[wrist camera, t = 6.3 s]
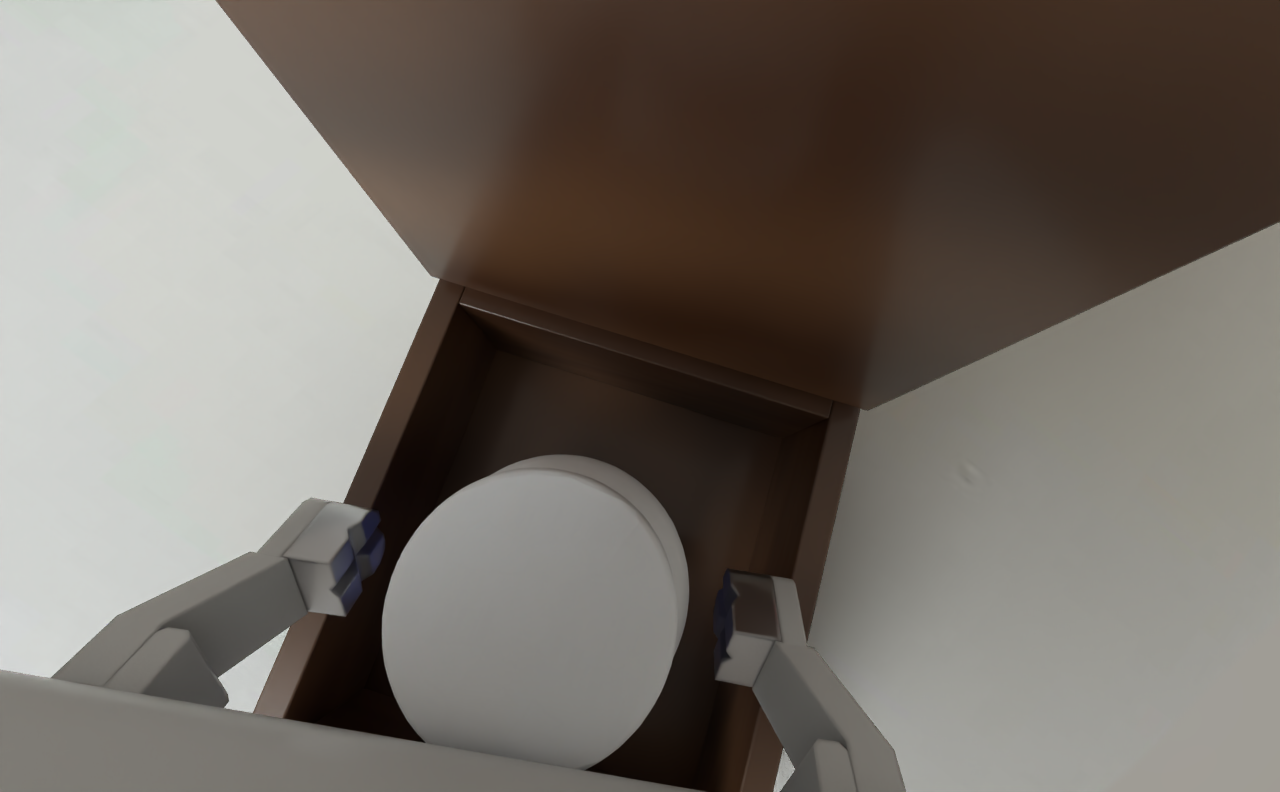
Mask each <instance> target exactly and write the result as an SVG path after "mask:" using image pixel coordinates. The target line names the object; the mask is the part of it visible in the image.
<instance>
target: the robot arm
mask: <svg viewBox="0 0 1280 792" xmlns="http://www.w3.org/2000/svg"><path fill="white" fill-rule="evenodd" d="M380 521H381V518H380V515H379V511H378V510H374V509H369V508H364V507H359V506H354V505H349V504H344V503H338V502H333V501H328V500H322V499H317V498H309V499H308V500H306V501H304V502H303V503H302V504H301V505H300V506H299V507H298V508H297V509H296V510H295V511H294V512H293V513H292V515H291V516H290V517H289V518H288V519H287V520H286V521H285V522H284V523H283V524H282V525H281V527H280V528H279V529H278V530H277V531H276V532H275V533H274V534H273V535H272V536H271V537H270V539H269V540H268V541H267V542H266V543H265V544H264V545H263V546H262V547H261V548H260V549H259V551H258V552H257V553H255V552H248V553H246V554H244V555H242V556H240V557H238V558H236V559H234V560H232V561H230V562H228V563H226V564H223V565H221V566H219V567H217V568H215V569H213V570H211V571H209V572H207V573H205V574H203V575H201V576H198V577H196V578H194V579H192V580H190V581H188V582H186V583H184V584H182V585H180V586H178V587H176V588H174V589H171V590H169V591H167V592H165V593H163V594H161V595H159V596H157V597H155V598H153V599H151V600H149V601H147V602H144V603H142V604H140V605H138V606H136V607H134V608H132V609H130V610H128V611H126V612H124V613H122V614H119V615H117V616H116V617H115V618H114V619H113V620H112V621H111V622H110V623H109V624H108V625H107V626H105V627H104V628H103V629H102V630H101V631H100V632H99V633H98V634H97V635H96V636H95V637H94V638H93V639H92V640H91V641H90V642H88V643H87V644H86V645H85V646H84V647H83V648H82V649H81V650H80V651H79V652H78V653H77V654H76V655H75V656H74V657H72V658H71V659H70V660H69V661H68V662H67V663H66V664H65V665H64V666H63V667H62V668H61V669H60V670H59V671H58V672H56V673H55V674H54V675H53V676H52V677H51V678H46V677H40V676H35V675H29V674H23V673H17V672H11V671H6V670H0V792H705V791H700V790H694V789H688V788H682V787H677V786H671V785H665V784H659V783H654V782H648V781H642V780H636V779H630V778H625V777H619V776H613V775H607V774H602V773H596V772H590V771H584V770H578V769H573V768H567V767H561V766H555V765H550V764H544V763H538V762H532V761H527V760H521V759H515V758H509V757H503V756H498V755H492V754H486V753H480V752H475V751H469V750H463V749H457V748H452V747H446V746H440V745H434V744H428V743H423V742H417V741H411V740H405V739H400V738H394V737H388V736H382V735H376V734H371V733H365V732H359V731H353V730H347V729H342V728H336V727H330V726H324V725H319V724H313V723H307V722H301V721H295V720H290V719H284V718H278V717H272V716H266V715H261V714H255V713H249V712H243V711H237V710H232V709H226V708H224V707H225V706H226V704H227V703H228V701H229V700H228V694H227V692H226V690H225V689H224V687H223V686H222V684H221V682H220V681H219V679H218V677H219V676H221V675H222V674H224V673H225V672H226V671H228V670H229V669H231V668H232V667H233V666H235V665H236V664H238V663H239V662H240V661H242V660H243V659H245V658H246V657H247V656H249V655H250V654H252V653H253V652H254V651H256V650H257V649H259V648H260V647H262V646H263V645H264V644H266V643H267V642H269V641H270V640H271V639H273V638H274V637H276V636H277V635H278V634H280V633H281V632H283V631H284V630H285V629H287V628H288V627H290V626H291V625H292V624H294V623H295V622H297V621H298V620H299V619H301V618H302V617H304V616H305V615H307V614H308V612H307V611H309V612H316V613H323V614H330V615H337V616H344V617H346V616H347V614H348V613H349V611H350V610H351V608H352V607H353V605H354V603H355V602H356V600H357V599H358V597H359V596H360V594H361V593H362V591H363V590H362V583H361V581H363V580H364V579H366V578H368V577H369V576H371V575H373V574H374V572H375V571H376V569H377V567H378V566H379V564H380V562H381V559H382V556H383V554H384V551H385V537H384V534H383V533H382V532H381V531H380V530H379V529H378V528H377V526H378V524H379V523H380ZM713 632H714V634H715V635H716V637H717V638H718V641H717V643H716V646H715V649H714V672H715V680H718V681H723V682H728V683H733V684H738V685H743V686H748V687H753V688H752V690H753V692H754V694H755V696H756V698H757V700H758V701H759V703H760V705H761V707H762V709H763V711H764V712H765V714H766V716H767V718H768V720H769V722H770V723H771V725H772V727H773V729H774V731H775V733H776V734H777V736H778V738H779V740H780V742H781V743H782V745H783V747H784V749H785V751H786V753H787V754H788V756H789V758H790V760H791V762H792V764H793V765H794V767H795V769H796V770H795V771H794V773H793V774H792V776H791V777H790V778H789V780H788V781H787V783H786V784H785V785H784V787H783V788H782V790H781V791H780V792H906V789H905V786H904V782H903V779H902V775H901V772H900V768H899V765H898V761H897V758H896V754H895V751H894V749H893V748H892V746H891V745H890V744H889V743H888V741H887V740H886V739H885V738H884V736H883V735H882V734H881V732H880V731H879V730H878V729H877V727H876V726H875V725H874V724H873V722H872V721H871V720H870V718H869V717H868V716H867V715H866V713H865V712H864V711H863V710H862V708H861V707H860V706H859V704H858V703H857V702H856V701H855V699H854V698H853V697H852V696H851V694H850V693H849V692H848V690H847V689H846V688H845V687H844V685H843V684H842V683H841V682H840V680H839V679H838V678H837V676H836V675H835V674H834V673H833V671H832V670H831V669H830V668H829V666H828V665H827V664H826V662H825V661H824V660H823V659H822V657H821V656H820V655H819V654H818V652H817V651H816V650H815V648H813V647H808V646H807V642H806V636H805V631H804V626H803V621H802V616H801V610H800V605H799V600H798V595H797V590H796V585H795V582H794V581H793V579H788V578H782V577H776V576H770V575H767V574H760V573H754V572H748V571H741V570H735V569H727V570H726V571H725V574H724V576H723V588H722V589H720V590H719V591H718V594H717V597H716V601H715V607H714V615H713Z"/></svg>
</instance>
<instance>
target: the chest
mask: <svg viewBox="0 0 1280 792" xmlns="http://www.w3.org/2000/svg"><path fill="white" fill-rule="evenodd" d="M859 412H860V408H857V407H854V406H850V405H847V404H844V403H841V402H837V401H834V400H831V399H828V398H824V397H821V396H818V395H815V394H812V393H808V392H805V391H802V390H799V389H795V388H792V387H789V386H786V385H782V384H779V383H776V382H773V381H769V380H766V379H763V378H760V377H756V376H753V375H750V374H747V373H743V372H740V371H737V370H734V369H730V368H727V367H724V366H721V365H718V364H714V363H711V362H708V361H705V360H701V359H698V358H695V357H692V356H688V355H685V354H682V353H679V352H675V351H672V350H669V349H666V348H662V347H659V346H656V345H653V344H649V343H646V342H643V341H640V340H637V339H633V338H630V337H627V336H624V335H620V334H617V333H614V332H611V331H607V330H604V329H601V328H598V327H594V326H591V325H588V324H585V323H581V322H578V321H575V320H572V319H568V318H565V317H562V316H559V315H556V314H552V313H549V312H546V311H543V310H539V309H536V308H533V307H530V306H526V305H523V304H520V303H517V302H513V301H510V300H507V299H504V298H500V297H497V296H494V295H491V294H487V293H484V292H481V291H478V290H474V289H471V288H468V287H465V286H462V285H458V284H455V283H452V282H449V281H445V280H442V279H440V280H439V282H438V285H437V287H436V289H435V292H434V294H433V296H432V299H431V301H430V303H429V306H428V308H427V310H426V313H425V315H424V317H423V319H422V322H421V324H420V326H419V329H418V331H417V333H416V336H415V338H414V340H413V343H412V345H411V347H410V350H409V352H408V354H407V357H406V359H405V361H404V364H403V366H402V368H401V371H400V373H399V375H398V377H397V380H396V382H395V384H394V387H393V389H392V391H391V394H390V396H389V398H388V401H387V403H386V405H385V408H384V410H383V412H382V415H381V417H380V419H379V422H378V424H377V426H376V429H375V431H374V433H373V435H372V438H371V440H370V442H369V445H368V447H367V449H366V452H365V454H364V456H363V459H362V461H361V463H360V466H359V468H358V470H357V473H356V475H355V477H354V480H353V482H352V484H351V487H350V489H349V491H348V494H347V496H346V498H345V500H344V504H349V505H354V506H359V507H364V508H369V509H374V510H378V511H379V515H380V518H381V521H380V523H379V524H378V526H377V528H378V529H379V530H380V531H381V532H382V533H383V534H384V537H385V551H384V554H383V556H382V559H381V562H380V564H379V566H378V567H377V569H376V571H375V572H374V574H373V575H371V576H369V577H368V578H366V579H364V580H363V581H361V583H362V590H363V591H362V593H361V594H360V596H359V597H358V599H357V600H356V602H355V603H354V605H353V607H352V608H351V610H350V611H349V613H348V614H347V616H346V617H344V616H337V615H330V614H323V613H316V612H309V611H307V612H308V614H307V615H305V616H304V617H302V618H301V619H299V620H298V621H297V622H295V623H294V624H292V625H291V626H290V628H289V630H288V633H287V635H286V637H285V640H284V642H283V644H282V647H281V649H280V651H279V654H278V656H277V658H276V661H275V663H274V665H273V668H272V670H271V672H270V674H269V677H268V679H267V681H266V684H265V686H264V688H263V691H262V693H261V695H260V698H259V700H258V702H257V705H256V707H255V709H254V712H253V713H255V714H261V715H266V716H272V717H278V718H284V719H290V720H295V721H301V722H307V723H313V724H319V725H324V726H330V727H336V728H342V729H347V730H353V731H359V732H365V733H371V734H376V735H382V736H388V737H394V738H400V739H405V740H411V741H417V742H423V743H426V742H425V741H424V740H423V739H422V738H421V737H420V736H419V735H418V734H417V733H416V732H415V730H414V729H413V728H412V726H411V725H410V724H409V722H408V721H407V719H406V718H405V716H404V714H403V712H402V711H401V709H400V707H399V705H398V703H397V701H396V699H395V697H394V694H393V691H392V688H391V685H390V682H389V679H388V676H387V672H386V668H385V665H384V658H383V650H382V615H383V609H384V602H385V598H386V594H387V590H388V587H389V583H390V580H391V577H392V574H393V572H394V569H395V567H396V564H397V562H398V560H399V558H400V556H401V553H402V552H403V550H404V548H405V546H406V545H407V543H408V542H409V540H410V539H411V537H412V536H413V534H414V533H415V531H416V530H417V529H418V527H419V526H420V525H421V523H422V522H423V521H424V520H425V519H426V518H427V517H428V516H429V515H430V514H431V513H432V512H433V511H434V510H435V509H436V508H437V507H438V506H439V505H440V504H441V503H443V502H444V501H445V500H446V499H447V498H449V497H450V496H452V495H453V494H455V493H456V492H458V491H459V490H461V489H462V488H464V487H466V486H467V485H469V484H471V483H474V482H476V481H478V480H480V479H482V478H485V477H487V476H490V475H491V474H493V473H495V472H497V471H498V470H500V469H502V468H504V467H506V466H508V465H511V464H514V463H516V462H519V461H522V460H526V459H530V458H533V457H538V456H545V455H576V456H584V457H588V458H593V459H596V460H599V461H602V462H605V463H608V464H610V465H613V466H615V467H617V468H619V469H621V470H623V471H624V472H626V473H627V474H629V475H630V476H632V477H633V478H635V479H636V480H637V481H639V482H640V483H641V484H642V485H643V486H644V487H646V488H647V489H648V490H649V491H650V492H651V493H652V494H653V495H654V497H655V498H656V499H657V500H658V501H659V502H660V504H661V505H662V506H663V508H664V509H665V510H666V512H667V514H668V515H669V517H670V518H671V519H672V521H673V524H674V526H675V528H676V530H677V533H678V535H679V538H680V540H681V543H682V546H683V549H684V554H685V558H686V562H687V568H688V577H689V603H688V612H687V618H686V623H685V627H684V630H683V634H682V637H681V640H680V643H679V646H678V648H677V650H676V653H675V655H674V657H673V661H672V665H671V668H670V671H669V673H668V676H667V679H666V682H665V684H664V687H663V689H662V691H661V693H660V695H659V697H658V699H657V701H656V703H655V705H654V706H653V708H652V709H651V711H650V712H649V714H648V715H647V717H646V718H645V720H644V721H643V723H642V724H641V725H640V727H639V728H638V729H637V730H636V731H635V732H634V733H633V734H632V735H631V736H630V737H629V738H628V739H627V740H626V741H625V743H624V744H622V745H621V746H620V747H619V748H618V749H617V750H615V751H614V752H613V753H612V754H610V755H609V756H607V757H606V758H605V759H603V760H602V761H600V762H599V763H597V764H595V765H593V766H592V767H590V768H588V769H586V770H584V771H590V772H596V773H602V774H607V775H613V776H619V777H625V778H630V779H636V780H642V781H648V782H654V783H659V784H665V785H671V786H677V787H682V788H688V789H694V790H700V791H705V792H773V790H774V785H775V781H776V776H777V772H778V768H779V763H780V759H781V754H782V750H783V745H782V743H781V742H780V740H779V738H778V736H777V734H776V733H775V731H774V729H773V727H772V725H771V723H770V722H769V720H768V718H767V716H766V714H765V712H764V711H763V709H762V707H761V705H760V703H759V701H758V700H757V698H756V696H755V694H754V692H753V690H752V688H753V687H748V686H743V685H738V684H733V683H728V682H723V681H718V680H715V672H714V649H715V646H716V643H717V641H718V638H717V637H716V635H715V634H714V632H713V615H714V607H715V601H716V597H717V594H718V591H719V590H720V589H722V588H723V576H724V574H725V571H726V570H727V569H735V570H741V571H748V572H754V573H760V574H767V575H770V576H776V577H782V578H788V579H793V581H794V582H795V585H796V590H797V595H798V600H799V605H800V610H801V616H802V621H803V626H804V631H805V636H806V642H807V640H808V636H809V632H810V627H811V623H812V619H813V614H814V610H815V605H816V601H817V597H818V592H819V588H820V583H821V579H822V575H823V570H824V566H825V562H826V557H827V553H828V548H829V544H830V540H831V535H832V531H833V526H834V522H835V518H836V513H837V509H838V505H839V500H840V496H841V491H842V487H843V483H844V478H845V474H846V469H847V465H848V461H849V456H850V452H851V448H852V443H853V439H854V434H855V430H856V426H857V421H858V417H859Z"/></svg>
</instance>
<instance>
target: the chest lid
mask: <svg viewBox="0 0 1280 792" xmlns="http://www.w3.org/2000/svg"><path fill="white" fill-rule="evenodd" d="M216 2H217V3H218V4H219V5H220V7H221V8H222V9H223V10H224V12H225V13H226V14H227V16H228V17H229V18H230V19H231V21H232V22H233V23H234V25H235V26H236V27H237V28H238V30H239V31H240V32H241V34H242V35H243V36H244V37H245V39H246V40H247V41H248V42H249V44H250V45H251V46H252V48H253V49H254V50H255V51H256V53H257V54H258V55H259V57H260V58H261V59H262V60H263V62H264V63H265V64H266V66H267V67H268V68H269V69H270V71H271V72H272V73H273V74H274V76H275V77H276V78H277V80H278V81H279V82H280V83H281V85H282V86H283V87H284V89H285V90H286V91H287V92H288V94H289V95H290V96H291V98H292V99H293V100H294V101H295V103H296V104H297V105H298V107H299V108H300V109H301V110H302V112H303V113H304V114H305V115H306V117H307V118H308V119H309V121H310V122H311V123H312V124H313V126H314V127H315V128H316V130H317V131H318V132H319V133H320V135H321V136H322V137H323V139H324V140H325V141H326V142H327V144H328V145H329V146H330V147H331V149H332V150H333V151H334V153H335V154H336V155H337V156H338V158H339V159H340V160H341V162H342V163H343V164H344V165H345V167H346V168H347V169H348V171H349V172H350V173H351V174H352V176H353V177H354V178H355V179H356V181H357V182H358V183H359V185H360V186H361V187H362V188H363V190H364V191H365V192H366V194H367V195H368V196H369V197H370V199H371V200H372V201H373V203H374V204H375V205H376V206H377V208H378V209H379V210H380V211H381V213H382V214H383V215H384V217H385V218H386V219H387V220H388V222H389V223H390V224H391V226H392V227H393V228H394V229H395V231H396V232H397V233H398V235H399V236H400V237H401V238H402V240H403V241H404V242H405V243H406V245H407V246H408V247H409V249H410V250H411V251H412V252H413V254H414V255H415V256H416V258H417V259H418V260H419V261H420V263H421V264H422V265H423V267H424V268H425V269H426V270H427V272H428V273H429V274H430V275H431V276H432V277H436V278H439V279H442V280H445V281H449V282H452V283H455V284H458V285H462V286H465V287H468V288H471V289H474V290H478V291H481V292H484V293H487V294H491V295H494V296H497V297H500V298H504V299H507V300H510V301H513V302H517V303H520V304H523V305H526V306H530V307H533V308H536V309H539V310H543V311H546V312H549V313H552V314H556V315H559V316H562V317H565V318H568V319H572V320H575V321H578V322H581V323H585V324H588V325H591V326H594V327H598V328H601V329H604V330H607V331H611V332H614V333H617V334H620V335H624V336H627V337H630V338H633V339H637V340H640V341H643V342H646V343H649V344H653V345H656V346H659V347H662V348H666V349H669V350H672V351H675V352H679V353H682V354H685V355H688V356H692V357H695V358H698V359H701V360H705V361H708V362H711V363H714V364H718V365H721V366H724V367H727V368H730V369H734V370H737V371H740V372H743V373H747V374H750V375H753V376H756V377H760V378H763V379H766V380H769V381H773V382H776V383H779V384H782V385H786V386H789V387H792V388H795V389H799V390H802V391H805V392H808V393H812V394H815V395H818V396H821V397H824V398H828V399H831V400H834V401H837V402H841V403H844V404H847V405H850V406H854V407H857V408H860V409H863V410H867V411H869V410H871V409H873V408H875V407H877V406H880V405H882V404H884V403H886V402H888V401H891V400H893V399H895V398H897V397H899V396H901V395H904V394H906V393H908V392H910V391H912V390H915V389H917V388H919V387H921V386H923V385H925V384H928V383H930V382H932V381H934V380H936V379H938V378H941V377H943V376H945V375H947V374H949V373H952V372H954V371H956V370H958V369H960V368H962V367H965V366H967V365H969V364H971V363H973V362H976V361H978V360H980V359H982V358H984V357H986V356H989V355H991V354H993V353H995V352H997V351H1000V350H1002V349H1004V348H1006V347H1008V346H1010V345H1013V344H1015V343H1017V342H1019V341H1021V340H1023V339H1026V338H1028V337H1030V336H1032V335H1034V334H1037V333H1039V332H1041V331H1043V330H1045V329H1047V328H1050V327H1052V326H1054V325H1056V324H1058V323H1061V322H1063V321H1065V320H1067V319H1069V318H1071V317H1074V316H1076V315H1078V314H1080V313H1082V312H1084V311H1087V310H1089V309H1091V308H1093V307H1095V306H1098V305H1100V304H1102V303H1104V302H1106V301H1108V300H1111V299H1113V298H1115V297H1117V296H1119V295H1122V294H1124V293H1126V292H1128V291H1130V290H1132V289H1135V288H1137V287H1139V286H1141V285H1143V284H1146V283H1148V282H1150V281H1152V280H1154V279H1156V278H1159V277H1161V276H1163V275H1165V274H1167V273H1169V272H1172V271H1174V270H1176V269H1178V268H1180V267H1183V266H1185V265H1187V264H1189V263H1191V262H1193V261H1196V260H1198V259H1200V258H1202V257H1204V256H1207V255H1209V254H1211V253H1213V252H1215V251H1217V250H1220V249H1222V248H1224V247H1226V246H1228V245H1230V244H1233V243H1235V242H1237V241H1239V240H1241V239H1244V238H1246V237H1248V236H1250V235H1252V234H1254V233H1257V232H1259V231H1261V230H1263V229H1265V228H1268V227H1270V226H1272V225H1274V224H1276V223H1278V222H1280V0H216Z"/></svg>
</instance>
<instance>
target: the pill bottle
mask: <svg viewBox="0 0 1280 792" xmlns="http://www.w3.org/2000/svg"><path fill="white" fill-rule="evenodd" d="M688 603H689V577H688V568H687V562H686V558H685V554H684V549H683V546H682V543H681V540H680V538H679V535H678V533H677V530H676V528H675V526H674V524H673V521H672V519H671V518H670V517H669V515H668V514H667V512H666V510H665V509H664V508H663V506H662V505H661V504H660V502H659V501H658V500H657V499H656V498H655V497H654V495H653V494H652V493H651V492H650V491H649V490H648V489H647V488H646V487H644V486H643V485H642V484H641V483H640V482H639V481H637V480H636V479H635V478H633V477H632V476H630V475H629V474H627V473H626V472H624V471H623V470H621V469H619V468H617V467H615V466H613V465H610V464H608V463H605V462H602V461H599V460H596V459H593V458H588V457H584V456H576V455H545V456H538V457H533V458H530V459H526V460H522V461H519V462H516V463H514V464H511V465H508V466H506V467H504V468H502V469H500V470H498V471H497V472H495V473H493V474H491V475H490V476H487V477H485V478H482V479H480V480H478V481H476V482H474V483H471V484H469V485H467V486H466V487H464V488H462V489H461V490H459V491H458V492H456V493H455V494H453V495H452V496H450V497H449V498H447V499H446V500H445V501H444V502H443V503H441V504H440V505H439V506H438V507H437V508H436V509H435V510H434V511H433V512H432V513H431V514H430V515H429V516H428V517H427V518H426V519H425V520H424V521H423V522H422V523H421V525H420V526H419V527H418V529H417V530H416V531H415V533H414V534H413V536H412V537H411V539H410V540H409V542H408V543H407V545H406V546H405V548H404V550H403V552H402V553H401V556H400V558H399V560H398V562H397V564H396V567H395V569H394V572H393V574H392V577H391V580H390V583H389V587H388V590H387V594H386V598H385V602H384V609H383V615H382V650H383V658H384V665H385V668H386V672H387V676H388V679H389V682H390V685H391V688H392V691H393V694H394V697H395V699H396V701H397V703H398V705H399V707H400V709H401V711H402V712H403V714H404V716H405V718H406V719H407V721H408V722H409V724H410V725H411V726H412V728H413V729H414V730H415V732H416V733H417V734H418V735H419V736H420V737H421V738H422V739H423V740H424V741H425V742H426V743H428V744H434V745H440V746H446V747H452V748H457V749H463V750H469V751H475V752H480V753H486V754H492V755H498V756H503V757H509V758H515V759H521V760H527V761H532V762H538V763H544V764H550V765H555V766H561V767H567V768H573V769H578V770H586V769H588V768H590V767H592V766H593V765H595V764H597V763H599V762H600V761H602V760H603V759H605V758H606V757H607V756H609V755H610V754H612V753H613V752H614V751H615V750H617V749H618V748H619V747H620V746H621V745H622V744H624V743H625V741H626V740H627V739H628V738H629V737H630V736H631V735H632V734H633V733H634V732H635V731H636V730H637V729H638V728H639V727H640V725H641V724H642V723H643V721H644V720H645V718H646V717H647V715H648V714H649V712H650V711H651V709H652V708H653V706H654V705H655V703H656V701H657V699H658V697H659V695H660V693H661V691H662V689H663V687H664V684H665V682H666V679H667V676H668V673H669V671H670V668H671V665H672V661H673V657H674V655H675V653H676V650H677V648H678V646H679V643H680V640H681V637H682V634H683V630H684V627H685V623H686V618H687V612H688Z"/></svg>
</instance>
